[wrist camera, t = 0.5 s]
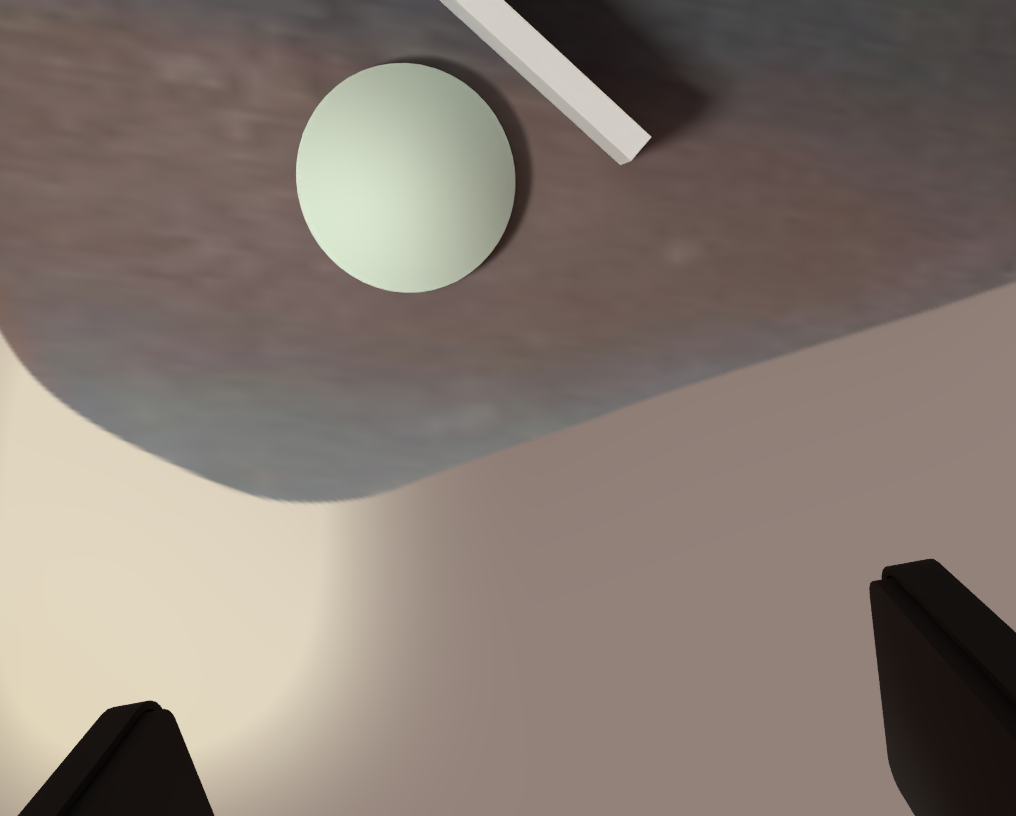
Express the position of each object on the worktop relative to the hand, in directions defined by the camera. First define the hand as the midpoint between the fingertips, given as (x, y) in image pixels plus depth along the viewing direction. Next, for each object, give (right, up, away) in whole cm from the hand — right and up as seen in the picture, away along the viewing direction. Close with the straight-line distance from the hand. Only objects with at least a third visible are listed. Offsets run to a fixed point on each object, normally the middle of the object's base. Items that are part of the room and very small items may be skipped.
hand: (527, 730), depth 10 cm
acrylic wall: (0, +20, +24) cm, 31 cm away
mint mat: (-5, +15, +25) cm, 30 cm away
